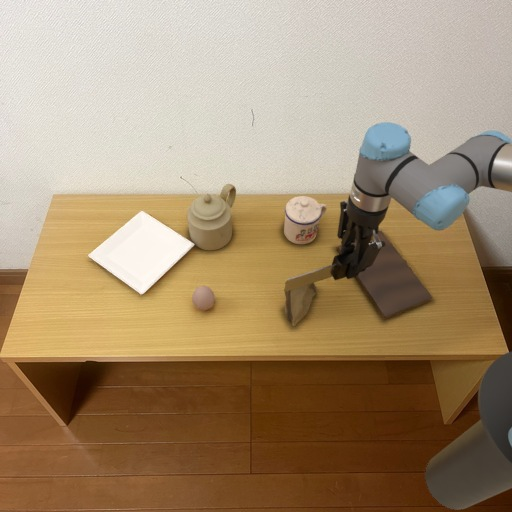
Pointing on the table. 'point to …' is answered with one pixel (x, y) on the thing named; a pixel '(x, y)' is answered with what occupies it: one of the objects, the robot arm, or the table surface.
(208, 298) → the egg
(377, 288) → the cutting board
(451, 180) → the robot arm
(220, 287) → the table surface
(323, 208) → the teacup with lid
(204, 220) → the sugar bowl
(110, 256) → the plate
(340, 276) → the knife
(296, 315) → the rock
